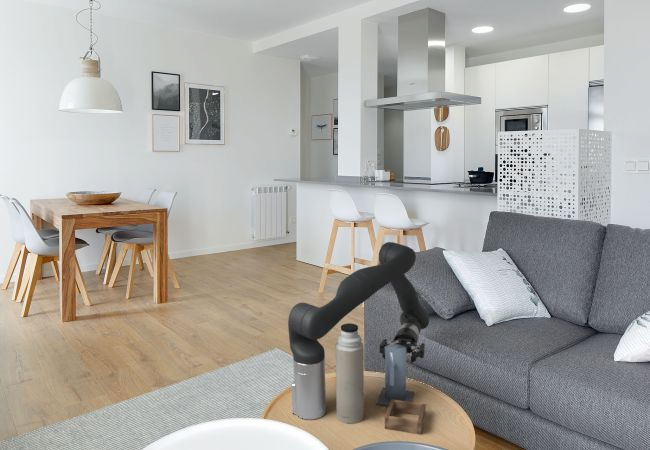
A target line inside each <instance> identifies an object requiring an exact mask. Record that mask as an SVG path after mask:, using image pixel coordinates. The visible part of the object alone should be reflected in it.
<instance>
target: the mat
mask: <svg viewBox="0 0 650 450" xmlns="http://www.w3.org/2000/svg"><path fill="white" fill-rule="evenodd" d="M414 395H415V391H413V390H407V389H406V399H405V400H404V401H408V402H413V398H414ZM390 402H391V401H388V400H387V399H386V398H385V386H384V387H382V388H381V390H380V393H379V396H378V398H377V400H376V403H375V404H376V406H382V407H387V408H388V407H389V405H390Z"/></svg>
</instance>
